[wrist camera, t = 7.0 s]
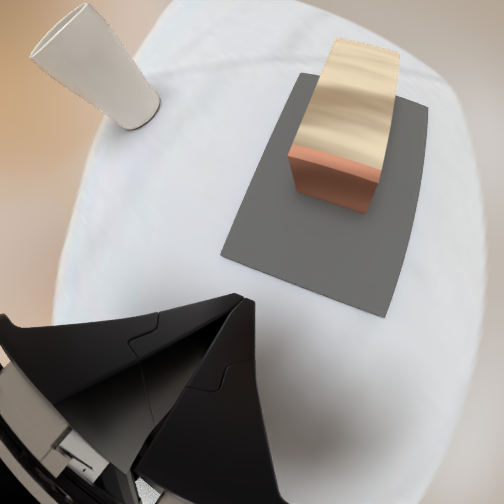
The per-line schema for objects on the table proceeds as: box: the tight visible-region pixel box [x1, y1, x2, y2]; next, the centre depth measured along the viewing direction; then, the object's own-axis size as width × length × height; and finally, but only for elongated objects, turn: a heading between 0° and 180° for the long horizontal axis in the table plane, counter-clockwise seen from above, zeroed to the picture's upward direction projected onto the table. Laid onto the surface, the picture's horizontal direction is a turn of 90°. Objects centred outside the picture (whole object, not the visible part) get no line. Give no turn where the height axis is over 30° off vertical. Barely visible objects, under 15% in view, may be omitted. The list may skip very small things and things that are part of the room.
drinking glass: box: [30, 2, 160, 129], centre depth 18 cm, size 7×7×15 cm
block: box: [288, 38, 400, 214], centre depth 16 cm, size 5×5×12 cm
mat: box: [220, 73, 428, 318], centre depth 18 cm, size 18×12×1 cm, turn 158°
